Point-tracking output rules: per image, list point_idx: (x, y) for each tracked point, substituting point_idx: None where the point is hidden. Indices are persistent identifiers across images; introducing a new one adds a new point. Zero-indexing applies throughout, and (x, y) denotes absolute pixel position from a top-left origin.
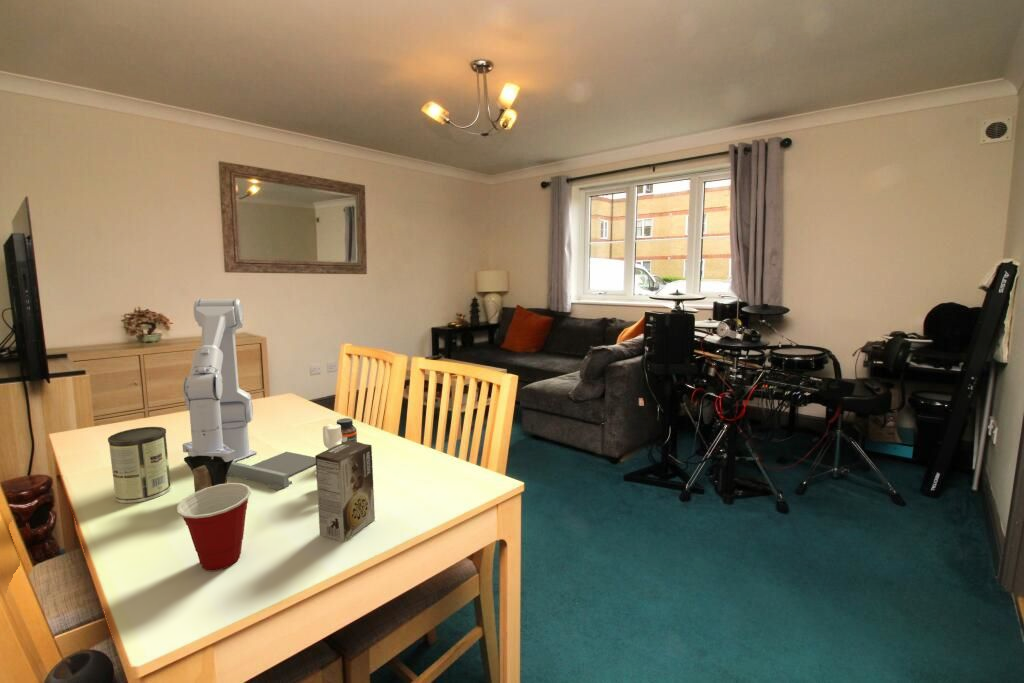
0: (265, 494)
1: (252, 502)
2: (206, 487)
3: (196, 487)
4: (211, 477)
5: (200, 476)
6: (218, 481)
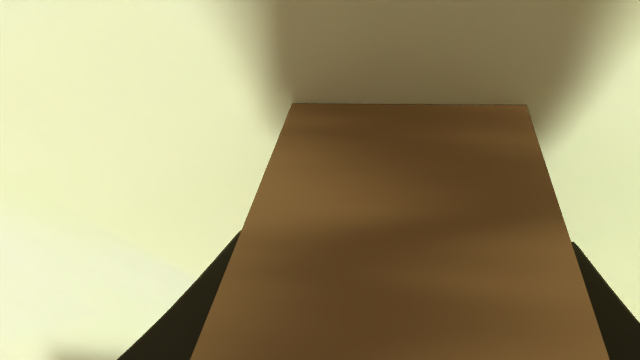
0: (76, 341)
1: (3, 241)
2: (277, 213)
3: (507, 195)
4: (172, 357)
5: (386, 339)
6: None
